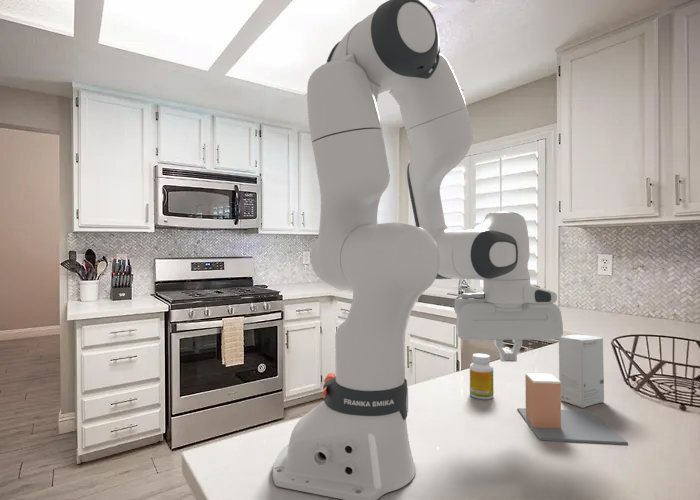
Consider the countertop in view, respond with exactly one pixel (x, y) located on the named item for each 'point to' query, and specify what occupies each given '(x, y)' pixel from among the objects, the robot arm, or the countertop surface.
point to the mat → (577, 428)
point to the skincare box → (581, 370)
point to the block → (543, 400)
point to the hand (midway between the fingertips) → (508, 360)
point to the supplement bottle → (481, 377)
